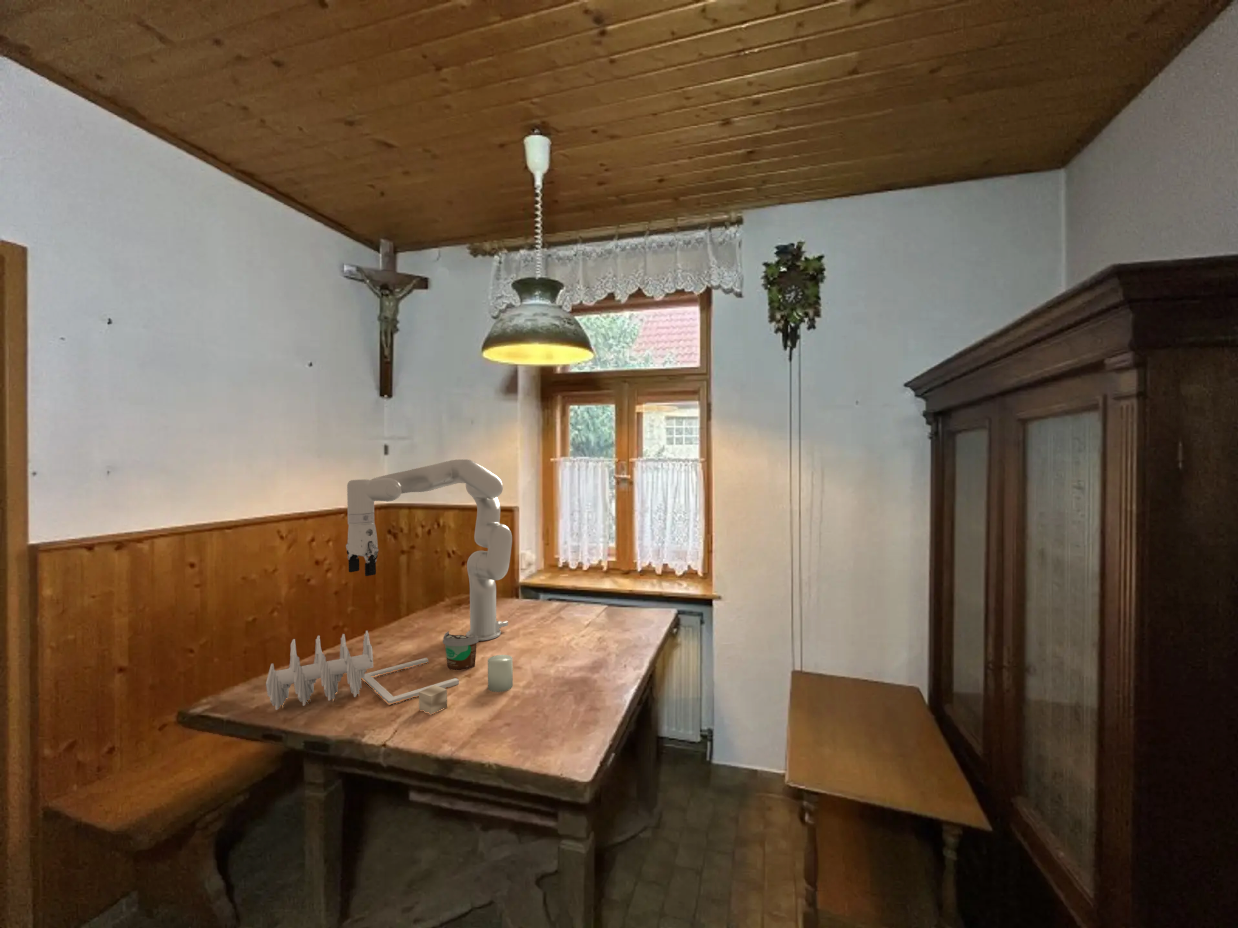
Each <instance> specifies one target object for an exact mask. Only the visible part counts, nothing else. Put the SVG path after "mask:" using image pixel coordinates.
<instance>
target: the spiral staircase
mask: <svg viewBox="0 0 1238 928" xmlns="http://www.w3.org/2000/svg"><path fill="white" fill-rule="evenodd" d="M363 635H364V638H363V642H362V645H363V647H362V649H363V651H362V654H359V655H355V656H354V655H353V656H351V653H350V651H349V648H348V647H347V642H346V635H345V633H342V635H341V637H340V647H339V658H338V659H332V660H328V661H327V660H326V659H327V658H326V656H325V653H323V652H322V647H321V638H320V637H321V636H320V635H317V637H316V639H315V648H314V651H315V652H314V659H313V660H314V661H313V663H311V664H307V665H301V661H300V657H299V656H298V655H297V646H296V638H293V639H292V640H291V643H290V654H289V656H290V657H289V658H290V659H289V667H288V668H285V669H280V670H276V669H275V666H274V663H270V667H269V670H268V673H267V678H266V680H265V681H266V682H265V688H266V692H267V694H266V695H267V697H269V702H270V704H271V705H272V707H274V708H275V710H276V711H277V710H279V709H280V708H281V707H280V705H283V703H284V701H285V702H286V700H285V699H286V698H288V699H289V695H290V694H289V691H290V688H291V687H292V684H293V686H294V692H295V695H297V699H298V701H299V702H300V703H302V706H306V705H307V703H308V701H307V700H309V699H310V696H311V697H312V694H314V693H313V692H314V689H315V688H314V684H316V683H317V679H320V681H321V687H323V692H324V695H325V697H326V698H327V700H328V701H331V700H332V699H334V698H335V699H336V695H335V693H336V692H338V693H339V688H338V687H339V683H340V682H341V680H342V677H344V674H346V680H347V685H349V689H350V692H351V694H353V698H356V697H357V694H359V695H360V691H359V690H361V689H362V680H361V678H362V677H364V676H365V674H366V673H367V670H368V669H373V668H374V657H373V655H374V654H373V647H372V644H371V643H370V642H371V641H370V633H369V630H365V633H364V634H363ZM360 688H361V689H360ZM310 700H311V699H310ZM306 702H307V703H306ZM279 707H280V708H279Z"/></svg>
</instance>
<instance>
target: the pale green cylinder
mask: <svg viewBox="0 0 1238 928" xmlns="http://www.w3.org/2000/svg"><path fill="white" fill-rule="evenodd" d="M513 668H514V667H513V657H512V656H511V655H508V654H497V655H492V656H490V657H489V658H488V659H487V690H488V691H490V692H493V693H502V692H507V691H509V690H511V689H512V688H513V684H514V683H513Z"/></svg>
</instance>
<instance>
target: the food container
mask: <svg viewBox="0 0 1238 928" xmlns="http://www.w3.org/2000/svg"><path fill="white" fill-rule="evenodd" d="M443 635H444V636H443V638H442V644H443V645H444V648H445V659H446V665H447V669H449V670H451V669H452V670H451V671H465V670H469V669H472V668H474V667H476V659H477V658H476V657H477V645H478V643H479V641H478V638H477V636H474V637H467V636H466V635H464V634H450V632H449V631H447V632H445V633H444V634H443Z"/></svg>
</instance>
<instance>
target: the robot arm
mask: <svg viewBox="0 0 1238 928" xmlns="http://www.w3.org/2000/svg"><path fill="white" fill-rule="evenodd" d="M456 484H465V489H466V491H467V493H468V494H469V496H470V497H472V499H473V500H474V502H475V505H476V509H477V511H476V521H475V528H474V536H473V537H474V542H475V543H476V545H478V546H479V547H482V548H487V550H477V551H474V552H472V553H471V554H470V556H469V557H468V559H467V563H466V569H467V575H468V581H469V626H470V627H469V628H470V629H469V630H468V631H467V632H466V633H465V636H467V637H474V636H477V638H478V642H479V641H480V642H481V641H489V640H493V639H496V638H498V637H500V636H501V634H502V632H501V630H500V629H501V628H504V627H508V626H509V621H508V620H504V621H502V620H497V584H496V581H499V580H502V579H503V578H505V576H507V574H508V571H509V569H510V562H511V555H512V545H513V535H512V531H511V530H510V528H509V526H507V525H506V524H503V523H500V521H501V504H500V501H499V498H498V497H500V496H501V495H502V493H503V491H504V485H503V482H502V479H501V478H500V477H498V476H497V475H496V474H495V473H493V472H491V471H490V470H488V469H487V468H485V467H484V466H482V465H481V464H479V463H477V462H476V461H473V460H471V459H464V458H463V459H451V460H447V461H443V462H438V463H435V464H429V465H426V466H422V467H416V468H411V469H408V470H404V471H400V472H399V471H398V472H394V473H388V474H385V475H381V476H376V477H374V478H372V479H367V478H366V479H351V480H349V481H348V482H347V485H346V487H347V488H346V491H347V492H346V493H347V494H346V495H347V496H346V498H347V503H346V504H347V525H348V529H347V543H346V544H345V548H346V555H347V560H348V572H349V573H354V572H355V573H356V572H359V571H360V558H359V557H363V558H364V560H365V563H364V576H365V577H370V576H375V575H376V574H377V568H376V567H377V564H376V563H377V559H378V555H379V548H378V546H379V545H378V535H377V528H376V524H375V502H394V501H396V500H397V499H399V497H400V496H401V495H402V494H408V493H425V492H430V491H434V490H438V489H441V488H444V487H449V486H452V485H456Z"/></svg>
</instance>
